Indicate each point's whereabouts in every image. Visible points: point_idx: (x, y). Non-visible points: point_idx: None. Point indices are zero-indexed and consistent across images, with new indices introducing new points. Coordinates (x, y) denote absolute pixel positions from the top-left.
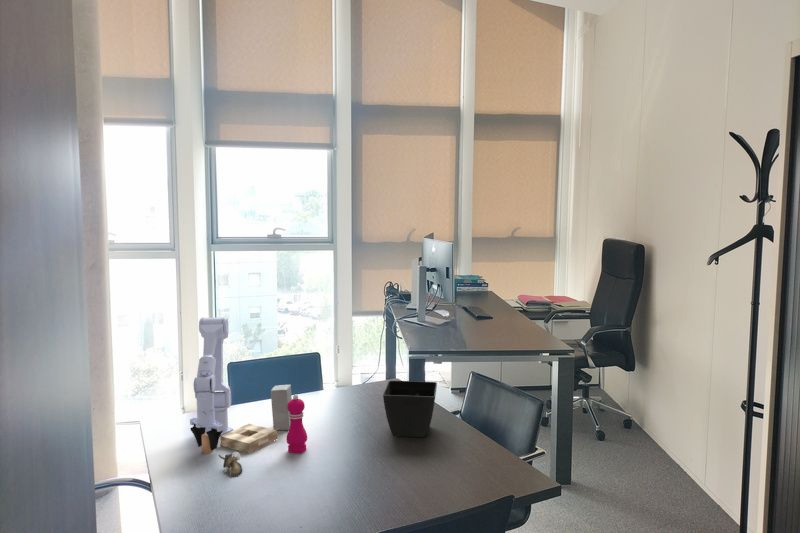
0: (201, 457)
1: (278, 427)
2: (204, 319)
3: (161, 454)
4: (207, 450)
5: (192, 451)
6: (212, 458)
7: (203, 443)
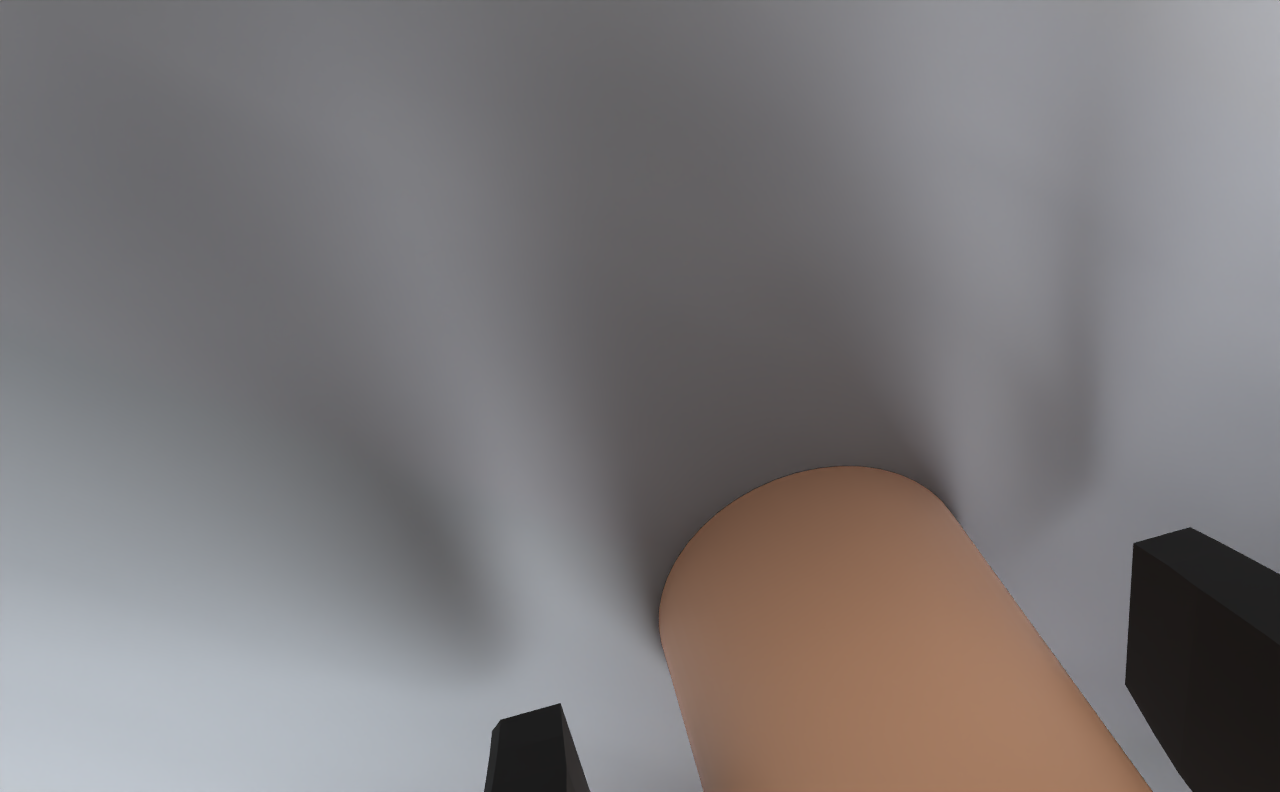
0: (538, 291)
1: None
2: None
3: None
4: (706, 618)
5: (1228, 294)
6: (162, 514)
7: (912, 739)
